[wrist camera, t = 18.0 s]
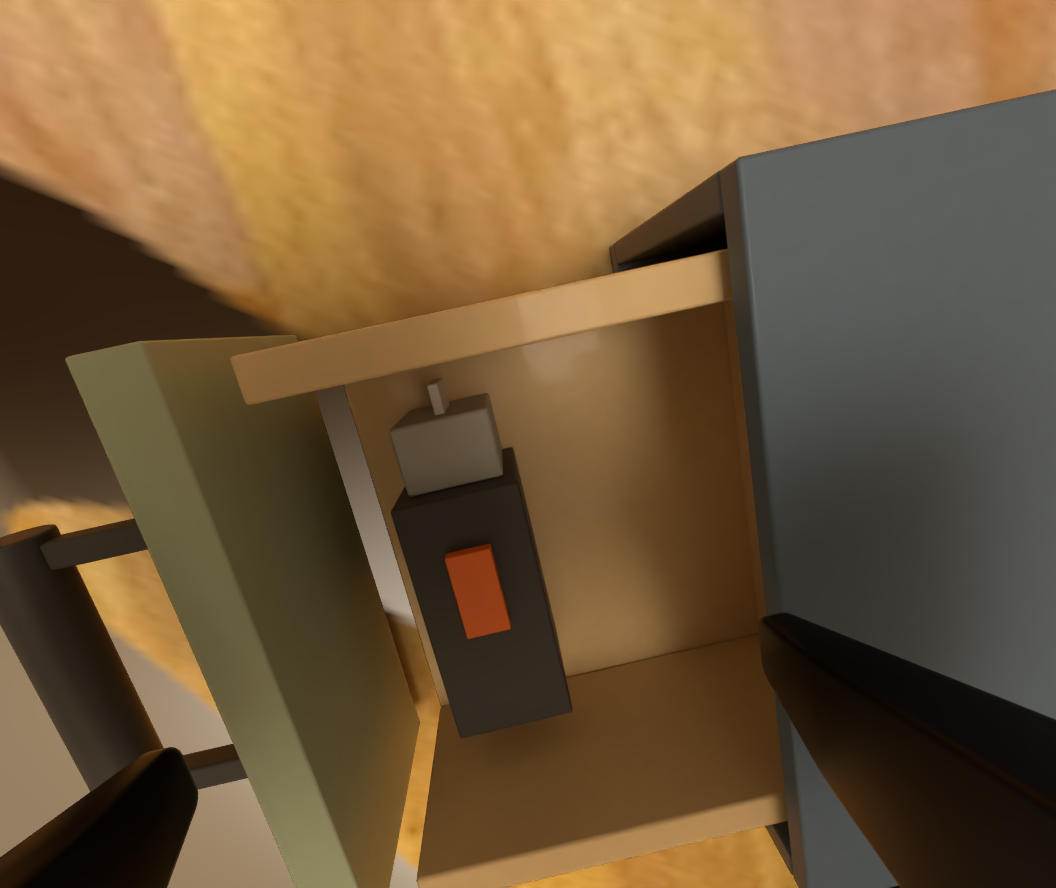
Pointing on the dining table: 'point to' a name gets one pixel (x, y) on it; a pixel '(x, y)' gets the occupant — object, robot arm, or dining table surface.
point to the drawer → (355, 606)
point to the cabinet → (895, 406)
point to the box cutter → (476, 566)
